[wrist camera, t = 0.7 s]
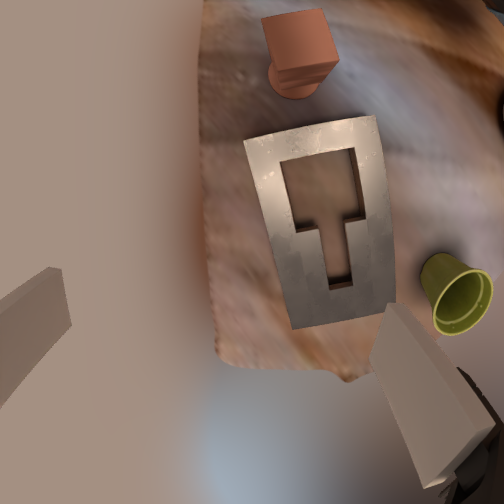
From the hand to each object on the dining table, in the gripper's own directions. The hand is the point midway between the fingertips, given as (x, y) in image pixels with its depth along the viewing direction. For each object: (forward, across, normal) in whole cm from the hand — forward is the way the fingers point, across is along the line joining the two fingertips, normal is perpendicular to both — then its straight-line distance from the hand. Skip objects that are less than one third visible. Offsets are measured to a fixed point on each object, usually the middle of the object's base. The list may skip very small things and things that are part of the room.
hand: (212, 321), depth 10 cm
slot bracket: (+25, +10, -1) cm, 27 cm away
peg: (+23, +4, +16) cm, 29 cm away
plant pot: (+24, +28, -5) cm, 37 cm away
